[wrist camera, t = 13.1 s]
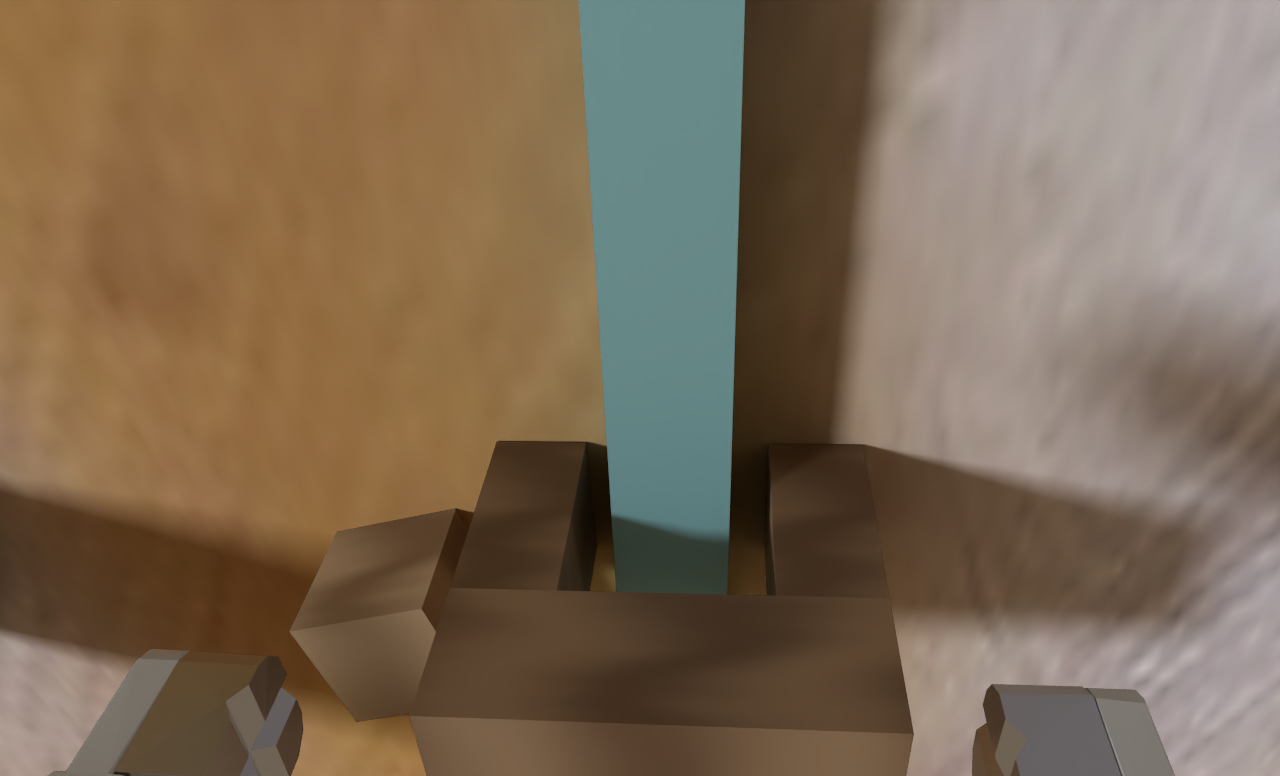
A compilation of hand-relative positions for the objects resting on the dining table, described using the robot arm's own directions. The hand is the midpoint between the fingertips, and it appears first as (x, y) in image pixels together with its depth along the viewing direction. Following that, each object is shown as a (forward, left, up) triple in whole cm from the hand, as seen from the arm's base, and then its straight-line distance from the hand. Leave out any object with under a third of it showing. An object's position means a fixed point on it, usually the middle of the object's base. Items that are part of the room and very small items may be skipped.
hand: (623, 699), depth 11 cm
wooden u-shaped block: (0, +9, -14) cm, 17 cm away
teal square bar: (0, +2, -14) cm, 14 cm away
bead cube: (+8, +12, -14) cm, 20 cm away
